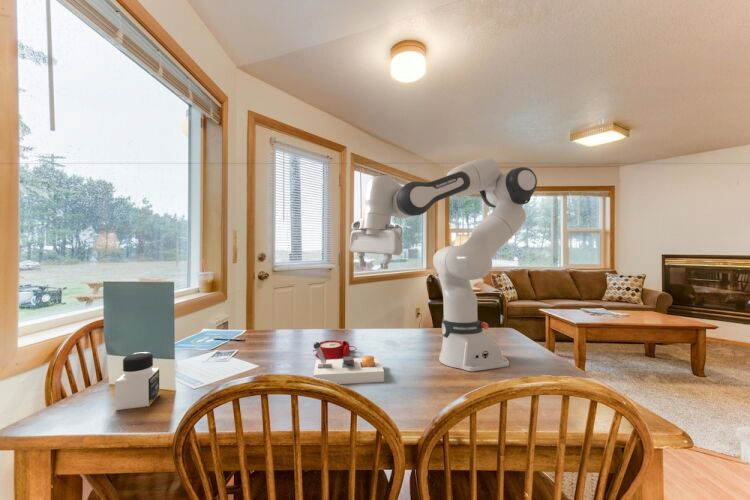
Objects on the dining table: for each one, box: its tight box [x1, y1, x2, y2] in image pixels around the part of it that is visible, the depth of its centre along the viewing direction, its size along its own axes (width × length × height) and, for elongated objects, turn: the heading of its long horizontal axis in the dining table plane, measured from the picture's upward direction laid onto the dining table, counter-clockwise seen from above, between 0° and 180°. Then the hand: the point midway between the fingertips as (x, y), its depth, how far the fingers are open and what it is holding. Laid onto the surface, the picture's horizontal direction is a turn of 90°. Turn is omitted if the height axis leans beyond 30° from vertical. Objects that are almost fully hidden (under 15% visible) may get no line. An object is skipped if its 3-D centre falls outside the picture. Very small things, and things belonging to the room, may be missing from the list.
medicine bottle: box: [114, 351, 160, 411], centre depth 81 cm, size 7×7×12 cm
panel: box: [312, 356, 385, 385], centre depth 97 cm, size 20×12×3 cm, turn 97°
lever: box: [313, 341, 327, 365], centre depth 96 cm, size 2×2×7 cm
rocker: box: [342, 355, 354, 364], centre depth 97 cm, size 3×7×1 cm, turn 7°
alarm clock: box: [312, 340, 357, 360], centre depth 117 cm, size 10×6×15 cm
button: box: [361, 355, 375, 368], centre depth 98 cm, size 4×4×4 cm
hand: (372, 267), depth 103 cm, fingers open, 8 cm apart
